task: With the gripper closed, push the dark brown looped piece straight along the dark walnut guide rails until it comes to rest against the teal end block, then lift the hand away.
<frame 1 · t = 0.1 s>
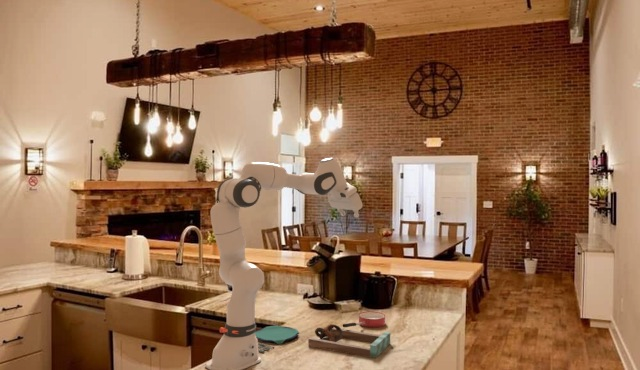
hand: (350, 216, 230), 54 cm above the counter, tool tilted 30°, fingers open, 8 cm apart
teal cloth: (269, 341, 221), on the counter
frying pan: (363, 329, 237), on the counter
dark brown looped piece: (328, 341, 220), on the counter
mug guide: (347, 344, 216), on the counter
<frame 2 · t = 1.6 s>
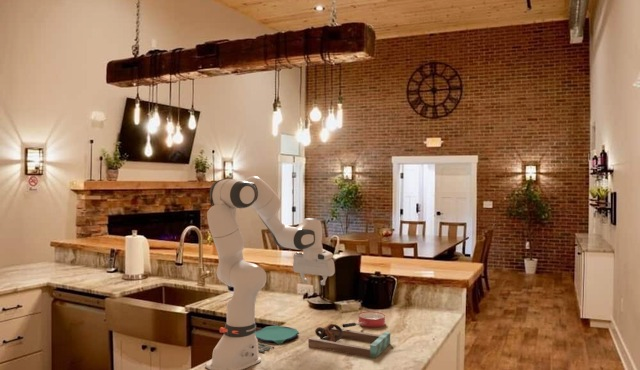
hand: (313, 283, 225), 24 cm above the counter, tool pointing down, fingers open, 8 cm apart
nothing on the counter moved.
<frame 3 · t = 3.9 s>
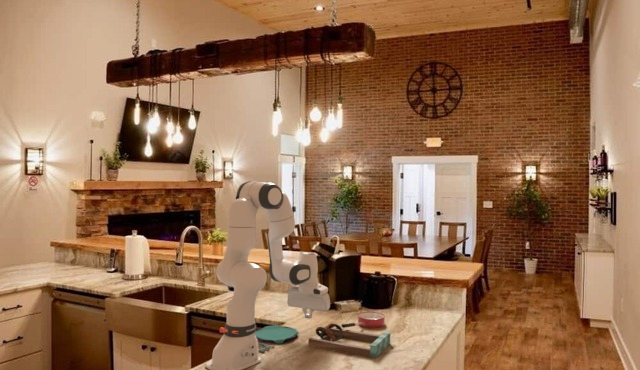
hand: (308, 318, 224), 9 cm above the counter, tool pointing down, fingers closed
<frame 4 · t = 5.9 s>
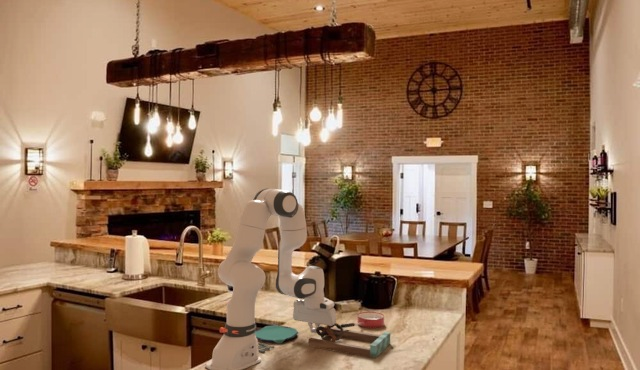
hand: (314, 332, 223), 3 cm above the counter, tool pointing down, fingers closed
dark brown looped piece: (329, 340, 221), on the counter, touching gripper
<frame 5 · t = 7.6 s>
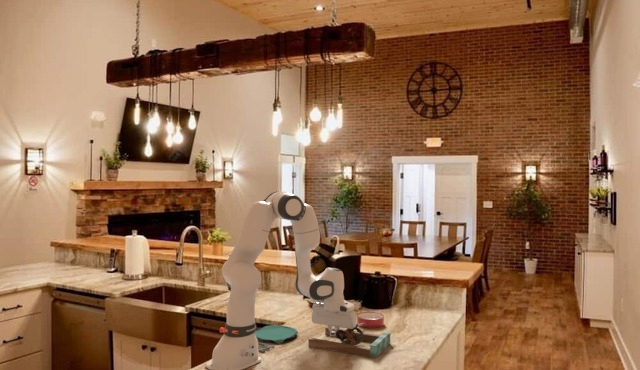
hand: (333, 335, 219), 3 cm above the counter, tool pointing down, fingers closed
frying pan: (364, 330, 235), on the counter
dark brown looped piece: (349, 343, 217), on the counter, touching gripper
everything else where it was.
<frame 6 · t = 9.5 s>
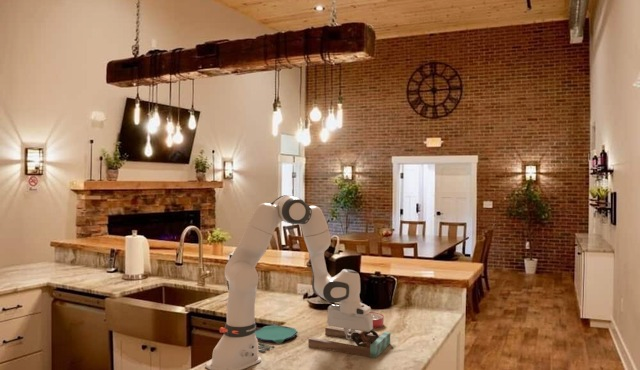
hand: (349, 338, 215), 3 cm above the counter, tool pointing down, fingers closed
dark brown looped piece: (364, 347, 213), on the counter, touching gripper, mug guide
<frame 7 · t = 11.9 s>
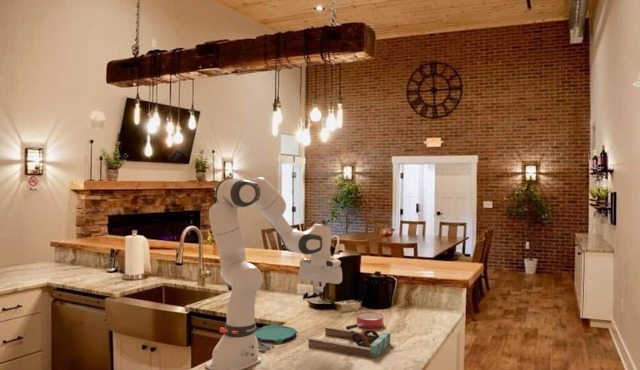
hand: (319, 291, 220), 22 cm above the counter, tool pointing down, fingers closed
dark brown looped piece: (364, 347, 213), on the counter
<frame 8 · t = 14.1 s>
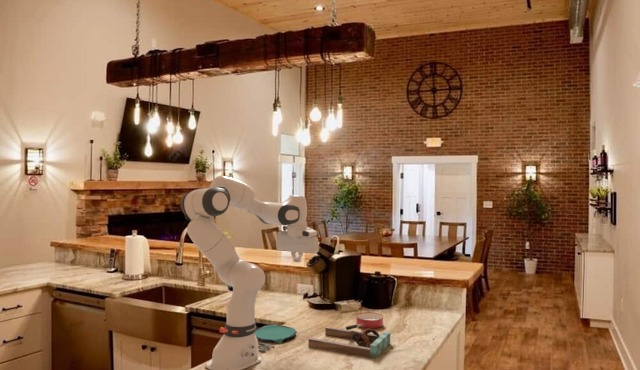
hand: (297, 261, 223), 34 cm above the counter, tool pointing down, fingers closed
at the end: dark brown looped piece inside the target area (2.5 cm from its centre), on the counter; dark brown looped piece tilted 2° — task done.
